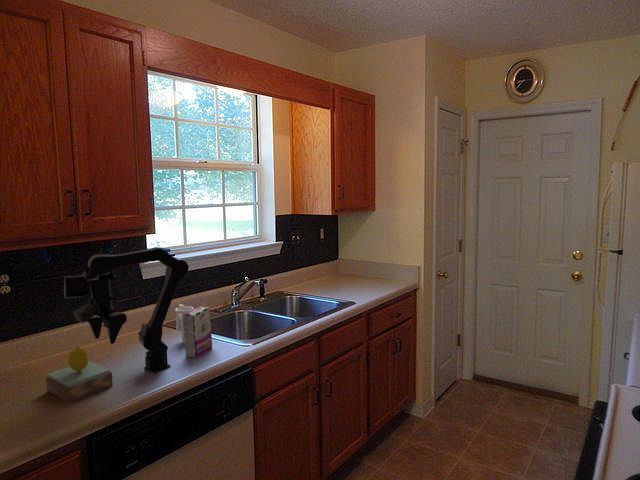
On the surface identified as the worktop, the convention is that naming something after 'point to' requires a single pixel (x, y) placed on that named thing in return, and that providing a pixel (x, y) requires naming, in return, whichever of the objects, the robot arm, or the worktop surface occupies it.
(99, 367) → the lid
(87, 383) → the tray
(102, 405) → the worktop surface
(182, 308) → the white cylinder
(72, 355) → the lemon
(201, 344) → the candy bar box
